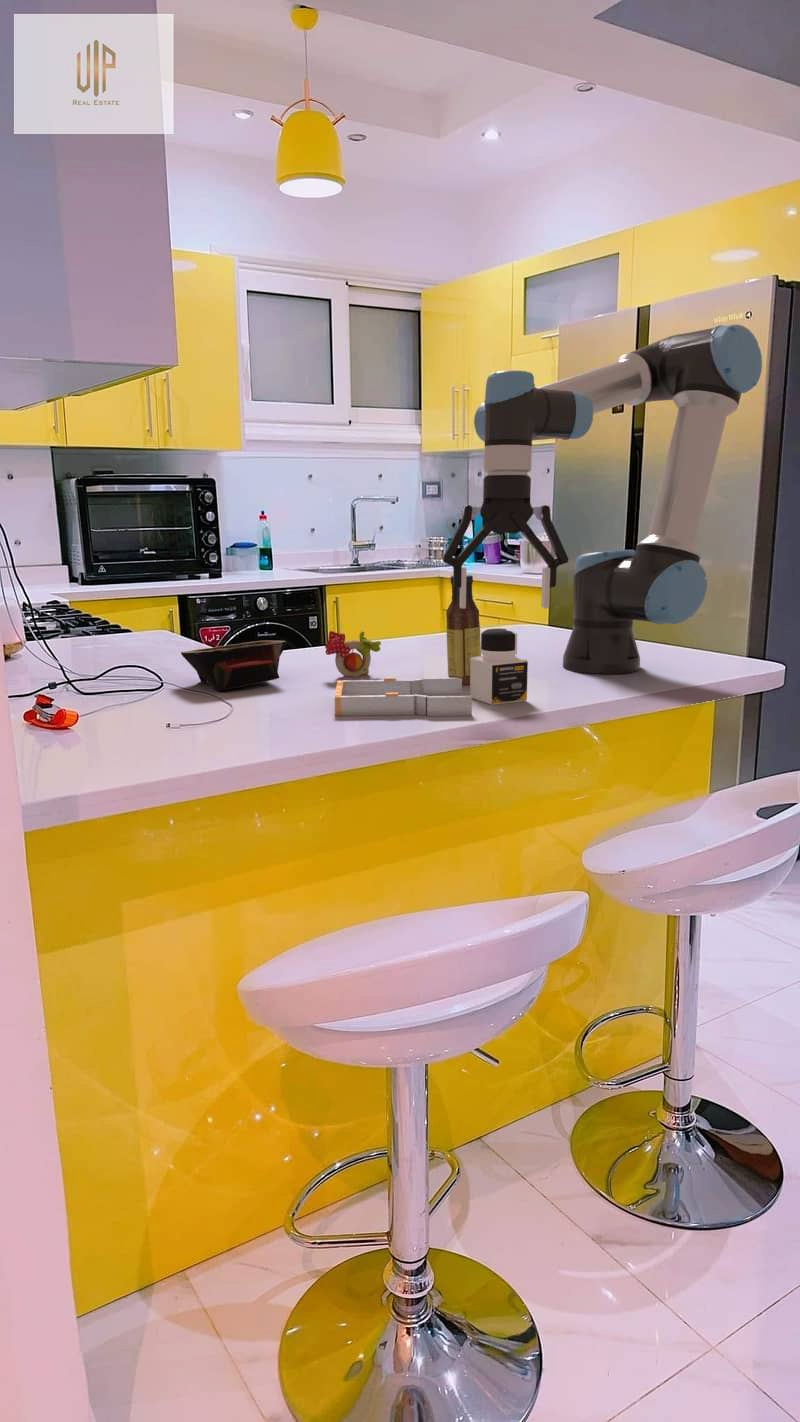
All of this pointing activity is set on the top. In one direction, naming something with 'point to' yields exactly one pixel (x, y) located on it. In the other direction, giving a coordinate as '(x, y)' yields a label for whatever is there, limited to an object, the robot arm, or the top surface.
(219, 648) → the baking dish
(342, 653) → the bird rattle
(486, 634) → the medicine bottle
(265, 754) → the top surface
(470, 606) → the sauce bottle
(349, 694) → the keyhole rails
